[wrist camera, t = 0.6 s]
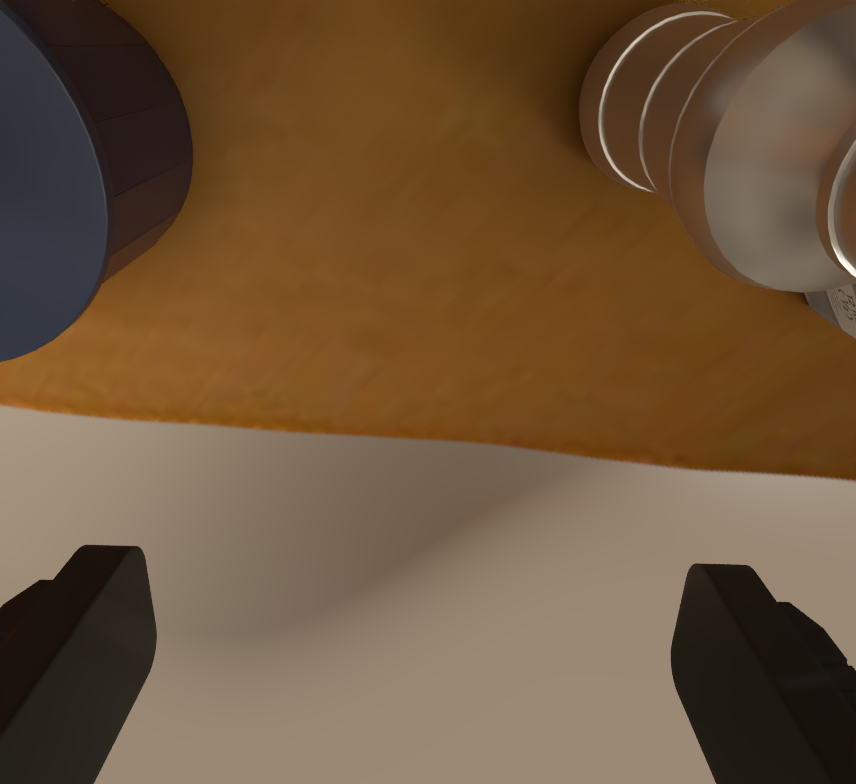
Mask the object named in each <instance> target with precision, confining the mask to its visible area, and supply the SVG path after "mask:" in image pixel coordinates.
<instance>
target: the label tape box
mask: <svg viewBox="0 0 856 784" xmlns="http://www.w3.org/2000/svg"><path fill="white" fill-rule="evenodd" d="M804 295H805V297H806V299H807V302H808V304H809V306H810V308H811V309H812V310H814V311H815V312H817V313H818V314H819V315H820V316H822V317H824V318H825V319H827V320H828V321H830V322H831V323H833V324H834V325H836V326H837V327H839V328H840V329H842V330H843V331H845V332H846V333H848V334H849V335H851V336H852V337H854V338H855V339H856V283H855V284H851V285H847V286H844V287H840V288H836V289H832V290H827V291H816V292H805V293H804Z"/></svg>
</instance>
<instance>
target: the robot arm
mask: <svg viewBox="0 0 856 784" xmlns="http://www.w3.org/2000/svg"><path fill="white" fill-rule="evenodd" d="M156 640H157V632H156V623H155V618H154V611H153V605H152V598H151V592H150V585H149V579H148V573H147V567H146V560H145V556H144V554H143V551H142V549H141V548H139V547H137V546H110V545H109V546H108V545H84V546H82V547H80V548H79V549H78V550H77V551H76V552H75V553H74V554H73V556H72V557H71V558H70V560H69V561H68V562H67V563H66V565H65V566H64V567H63V568H62V569H61V571H60V572H59V573H58V574H57V576H56V577H55V578H54V579H53V580H39V581H38V582H36V583H35V584H33V585H32V586H30V587H29V588H27V589H26V590H24V591H23V592H21V593H20V594H18V595H17V596H15V597H14V598H12V599H11V600H9V601H8V602H6V603H5V604H3V606H2V607H1V608H0V784H94V782H95V780H96V778H97V776H98V774H99V772H100V770H101V768H102V766H103V764H104V762H105V760H106V758H107V756H108V754H109V752H110V750H111V748H112V746H113V744H114V742H115V740H116V738H117V736H118V734H119V732H120V730H121V728H122V726H123V724H124V722H125V720H126V718H127V716H128V714H129V712H130V710H131V708H132V706H133V704H134V703H135V701H136V699H137V696H138V694H139V693H140V690H141V689H142V687H143V684H144V683H145V680H146V678H147V677H148V674H149V672H150V669H151V667H152V663H153V660H154V655H155V650H156ZM671 668H672V675H673V679H674V683H675V687H676V690H677V692H678V695H679V697H680V700H681V702H682V704H683V707H684V709H685V711H686V714H687V716H688V718H689V721H690V723H691V725H692V728H693V730H694V732H695V734H696V737H697V739H698V742H699V744H700V747H701V749H702V751H703V753H704V756H705V758H706V761H707V763H708V765H709V768H710V770H711V772H712V775H713V777H714V779H715V782H716V784H856V671H855V669H854V668H853V667H852V666H848V664H847V659H846V657H845V656H844V655H843V654H842V652H841V651H840V650H839V648H838V647H837V646H836V644H835V643H834V642H833V640H832V639H831V638H830V636H829V635H828V634H827V633H826V631H825V630H824V629H823V628H822V627H821V626H819V625H818V624H817V623H816V622H814V621H813V620H812V619H810V618H809V617H808V616H806V615H805V614H804V613H802V612H801V611H800V610H799V609H797V608H796V607H795V606H793V605H792V604H791V603H789V602H776V600H775V599H774V598H773V596H772V595H771V593H770V592H769V590H768V589H767V588H766V586H765V585H764V583H763V582H762V580H761V579H760V578H759V576H758V575H757V573H756V572H755V571H754V570H753V569H752V568H751V567H750V566H747V565H729V564H726V565H725V564H693V565H692V566H691V568H690V569H689V571H688V574H687V577H686V582H685V586H684V591H683V595H682V600H681V604H680V609H679V613H678V618H677V622H676V627H675V631H674V636H673V640H672V647H671Z"/></svg>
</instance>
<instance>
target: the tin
mask: <svg viewBox="0 0 856 784" xmlns="http://www.w3.org/2000/svg"><path fill="white" fill-rule="evenodd" d="M2 1H3V2H4V3H5V4H6V5H7V6H8V7H9V8H10V9H11V10H13V11H14V12H15V13H16V14H17V15H18V16H19V17H20V18H21V19H22V20H23V21H24V22H25V23H26V24H27V25H28V26H29V27H30V28H31V29H32V30H33V32H34V33H35V34H36V35H37V36H38V37H39V38H40V40H41V41H42V42H43V43H44V44H45V45H46V46H47V47H48V49H49V50H50V51H51V52H52V54H53V55H54V57H55V58H56V59H57V61H58V62H59V64H60V65H61V66H62V68H63V69H64V71H65V72H66V73H67V75H68V76H69V77H70V79H71V81H72V83H73V84H74V86H75V88H76V89H77V91H78V93H79V95H80V96H81V98H82V100H83V102H84V103H85V105H86V107H87V109H88V111H89V114H90V116H91V118H92V120H93V123H94V125H95V127H96V129H97V132H98V134H99V136H100V139H101V142H102V146H103V149H104V152H105V155H106V158H107V161H108V165H109V170H110V175H111V180H112V185H113V191H114V203H115V232H114V245H113V249H112V253H111V258H110V262H109V267H108V269H107V272H106V274H105V277H104V279H103V282H102V283H104V282H105V281H106V280H108V279H109V278H110V277H112V276H113V275H114V274H116V273H117V272H118V271H120V270H121V269H123V268H124V267H125V266H127V265H128V264H129V263H131V262H132V261H133V260H135V259H136V258H137V257H139V256H140V255H141V254H143V253H144V252H145V251H147V250H148V249H150V248H151V247H152V246H154V245H155V244H156V243H157V241H158V240H159V238H160V237H161V236H162V235H163V234H164V233H165V232H166V230H167V229H168V228H169V227H170V226H171V225H172V223H173V222H174V220H175V219H176V217H177V215H178V214H179V212H180V210H181V208H182V206H183V203H184V201H185V199H186V196H187V193H188V189H189V185H190V181H191V174H192V165H193V147H192V139H191V132H190V126H189V122H188V118H187V114H186V110H185V108H184V105H183V102H182V100H181V97H180V94H179V92H178V90H177V88H176V86H175V84H174V82H173V80H172V78H171V76H170V74H169V72H168V71H167V69H166V68H165V66H164V64H163V63H162V61H161V60H160V58H159V57H158V55H157V54H156V53H155V52H154V50H153V49H152V48H151V47H150V45H149V44H148V43H147V42H146V41H145V39H144V38H143V37H142V36H141V35H140V34H139V33H138V32H137V31H136V30H135V29H134V28H133V27H132V26H131V25H130V24H129V23H128V22H126V21H125V20H124V19H122V18H121V17H120V16H119V15H117V14H116V13H115V12H114V11H112V10H111V9H109V8H108V7H106V6H105V5H103V4H101V3H100V2H98V1H97V0H2Z"/></svg>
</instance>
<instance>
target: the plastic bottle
mask: <svg viewBox="0 0 856 784" xmlns="http://www.w3.org/2000/svg"><path fill="white" fill-rule="evenodd" d="M579 122H580V129H581V136H582V139H583V142H584V145H585V148H586V150H587V153H588V154H589V156H590V158H591V159H592V161H593V162H594V164H595V166H596V167H597V168H598V169H599V170H600V171H601V172H602V173H603V174H604V175H605V176H607V177H608V178H610V179H612V180H613V181H615V182H616V183H618V184H620V185H623V186H626V187H629V188H632V189H636V190H639V191H643V192H652V193H658V194H660V195H662V196H663V197H664V198H665V199H666V200H667V201H668V202H669V203H670V205H671V207H672V208H673V210H674V212H675V214H676V216H677V217H678V219H679V221H680V223H681V225H682V226H683V228H684V230H685V232H686V233H687V235H688V237H689V238H690V240H691V241H692V242H693V244H694V245H695V246H696V247H697V248H698V250H699V251H700V252H701V253H702V254H703V255H704V256H705V257H706V258H707V259H708V260H709V261H710V262H711V263H712V264H713V265H714V266H715V267H716V268H717V269H719V270H720V271H722V272H724V273H725V274H727V275H729V276H730V277H732V278H734V279H735V280H737V281H740V282H743V283H747V284H750V285H753V286H756V287H759V288H767V289H774V290H783V291H793V292H803V293H805V292H816V291H827V290H832V289H836V288H840V287H844V286H847V285H851V284H855V283H856V0H798V1H795V2H792V3H790V4H788V5H786V6H783V7H781V8H778V9H776V10H773V11H771V12H769V13H766V14H764V15H761V16H759V17H756V18H751V19H745V20H737V19H734V18H732V17H731V16H730V15H728V14H726V13H723V12H720V11H718V10H715V9H713V8H710V7H707V6H704V5H702V4H694V3H685V2H682V3H674V4H665V5H662V6H659V7H656V8H653V9H651V10H648V11H646V12H644V13H642V14H641V15H639V16H637V17H635V18H633V19H632V20H630V21H629V22H628V23H627V24H625V25H624V26H623V27H622V28H621V29H619V30H618V31H617V32H616V33H615V34H614V35H612V36H611V37H610V39H609V40H608V41H607V42H606V43H605V44H604V45H603V47H602V48H601V49H600V50H599V51H598V53H597V55H596V56H595V58H594V60H593V61H592V63H591V65H590V66H589V69H588V71H587V74H586V76H585V79H584V81H583V84H582V89H581V93H580V98H579Z"/></svg>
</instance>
